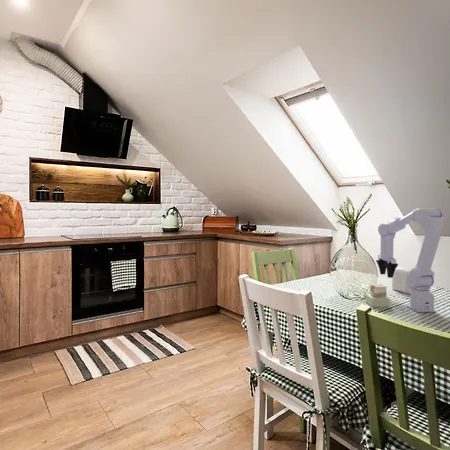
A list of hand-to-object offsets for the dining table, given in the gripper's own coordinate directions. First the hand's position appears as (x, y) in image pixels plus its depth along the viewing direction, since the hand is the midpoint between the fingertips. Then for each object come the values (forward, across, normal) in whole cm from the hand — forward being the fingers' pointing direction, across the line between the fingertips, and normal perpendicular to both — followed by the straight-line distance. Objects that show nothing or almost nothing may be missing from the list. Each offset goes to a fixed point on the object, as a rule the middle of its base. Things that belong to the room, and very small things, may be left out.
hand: (386, 275), depth 172 cm
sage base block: (+11, +12, -10) cm, 19 cm away
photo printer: (+11, -10, +13) cm, 20 cm away
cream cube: (+7, +12, -10) cm, 17 cm away
